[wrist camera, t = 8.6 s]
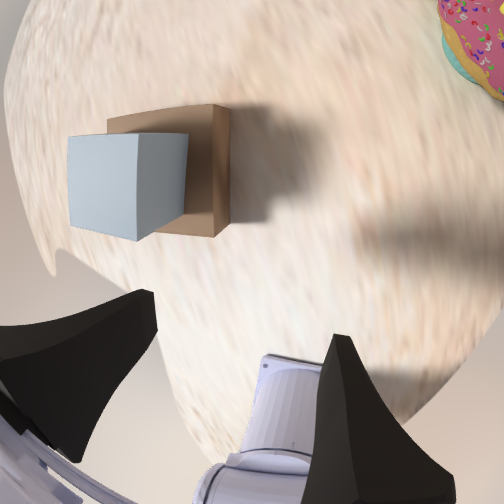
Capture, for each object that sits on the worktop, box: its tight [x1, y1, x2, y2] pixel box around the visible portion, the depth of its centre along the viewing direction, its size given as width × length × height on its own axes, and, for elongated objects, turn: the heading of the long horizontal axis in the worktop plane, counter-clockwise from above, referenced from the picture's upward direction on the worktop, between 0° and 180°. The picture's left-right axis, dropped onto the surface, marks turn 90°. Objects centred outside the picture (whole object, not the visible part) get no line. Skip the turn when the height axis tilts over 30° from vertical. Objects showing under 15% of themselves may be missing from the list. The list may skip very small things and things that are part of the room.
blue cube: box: [67, 133, 189, 241], centre depth 14 cm, size 5×5×5 cm
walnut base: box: [107, 104, 230, 238], centre depth 18 cm, size 8×8×4 cm
